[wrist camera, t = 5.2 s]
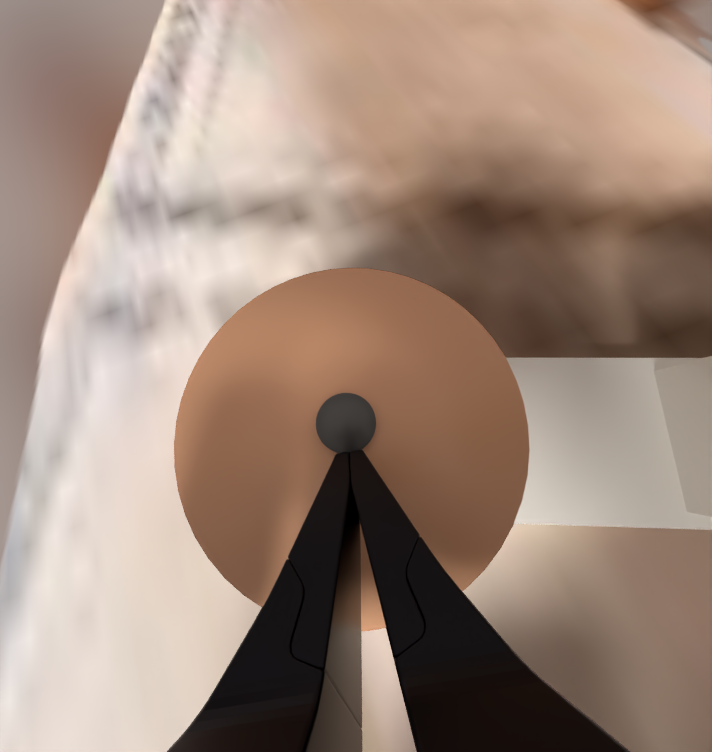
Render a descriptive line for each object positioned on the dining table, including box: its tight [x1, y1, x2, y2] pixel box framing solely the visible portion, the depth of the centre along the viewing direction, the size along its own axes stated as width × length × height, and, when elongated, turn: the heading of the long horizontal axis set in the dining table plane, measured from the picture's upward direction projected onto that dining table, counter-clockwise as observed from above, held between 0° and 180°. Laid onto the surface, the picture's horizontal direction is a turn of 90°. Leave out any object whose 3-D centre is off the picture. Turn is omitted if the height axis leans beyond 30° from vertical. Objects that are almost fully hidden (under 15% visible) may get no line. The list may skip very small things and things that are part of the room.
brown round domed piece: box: [174, 268, 530, 631], centre depth 13 cm, size 12×12×6 cm
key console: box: [506, 356, 712, 530], centre depth 15 cm, size 34×9×5 cm, turn 89°
